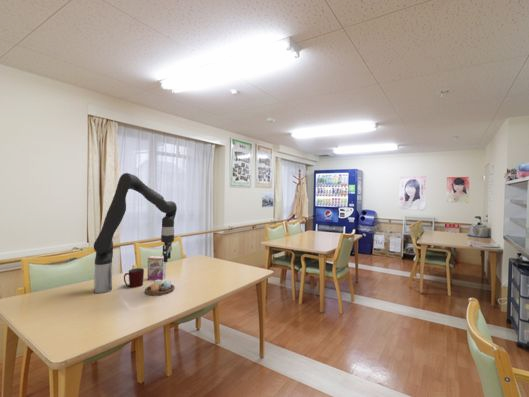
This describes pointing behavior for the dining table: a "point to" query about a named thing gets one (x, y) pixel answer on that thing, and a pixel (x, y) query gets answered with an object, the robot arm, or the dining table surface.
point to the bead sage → (158, 282)
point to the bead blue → (166, 285)
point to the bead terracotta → (155, 287)
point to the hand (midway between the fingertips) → (167, 260)
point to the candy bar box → (156, 268)
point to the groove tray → (161, 292)
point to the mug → (135, 277)
